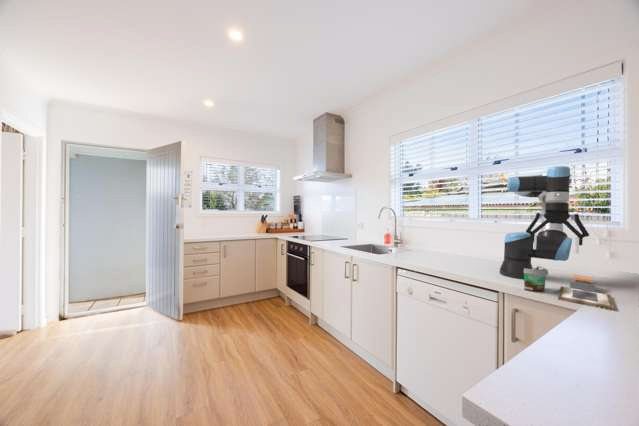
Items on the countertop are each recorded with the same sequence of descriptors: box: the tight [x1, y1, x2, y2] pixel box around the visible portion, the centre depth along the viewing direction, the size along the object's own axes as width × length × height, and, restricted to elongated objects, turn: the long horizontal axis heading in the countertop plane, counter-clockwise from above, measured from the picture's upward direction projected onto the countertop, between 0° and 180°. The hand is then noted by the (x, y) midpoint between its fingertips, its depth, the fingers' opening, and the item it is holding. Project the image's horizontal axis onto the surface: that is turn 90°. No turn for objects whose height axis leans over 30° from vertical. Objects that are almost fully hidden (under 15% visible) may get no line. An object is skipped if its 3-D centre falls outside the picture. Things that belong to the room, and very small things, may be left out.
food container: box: [523, 265, 549, 293], centre depth 115 cm, size 12×6×10 cm, turn 117°
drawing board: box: [557, 285, 615, 311], centre depth 106 cm, size 15×20×1 cm
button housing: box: [569, 277, 597, 292], centre depth 119 cm, size 8×8×3 cm
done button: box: [572, 274, 594, 284], centre depth 119 cm, size 6×6×4 cm
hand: (554, 251), depth 112 cm, fingers open, 13 cm apart
